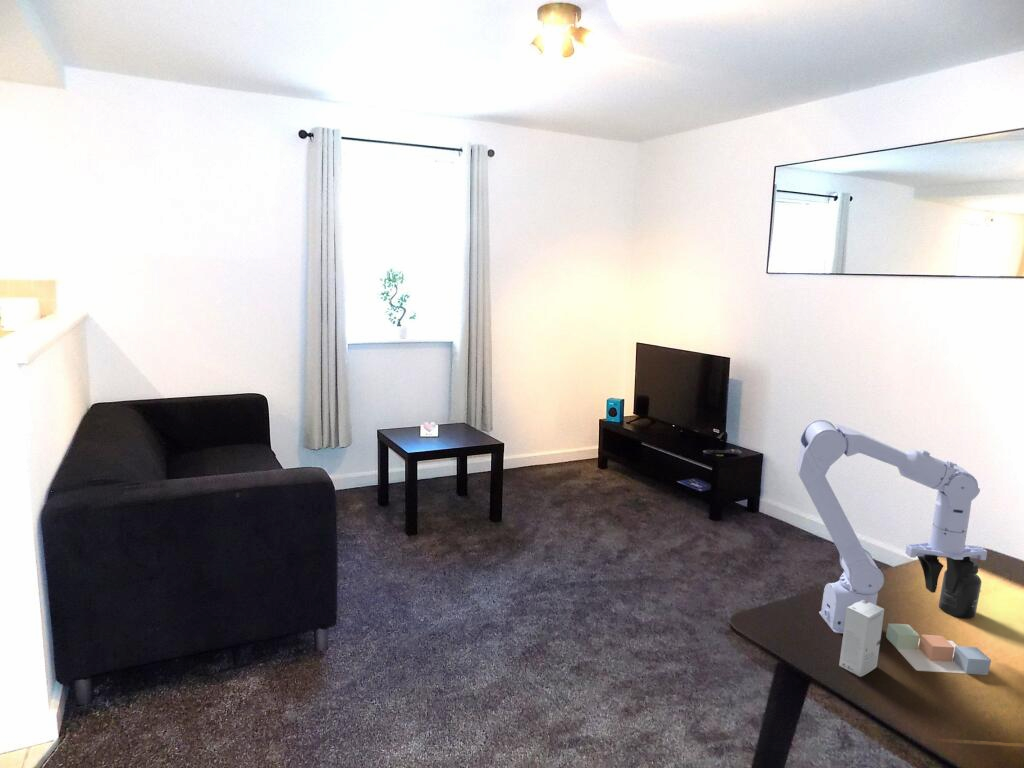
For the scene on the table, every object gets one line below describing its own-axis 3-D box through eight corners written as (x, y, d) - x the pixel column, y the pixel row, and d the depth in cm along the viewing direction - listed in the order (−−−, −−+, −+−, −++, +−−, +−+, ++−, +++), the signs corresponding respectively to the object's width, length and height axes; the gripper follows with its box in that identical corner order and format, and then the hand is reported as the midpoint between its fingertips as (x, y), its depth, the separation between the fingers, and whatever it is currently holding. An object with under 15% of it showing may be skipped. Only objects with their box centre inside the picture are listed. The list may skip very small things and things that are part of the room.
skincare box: (860, 679, 119) (870, 618, 117) (837, 666, 123) (845, 607, 121) (877, 668, 123) (887, 609, 121) (854, 656, 126) (862, 598, 124)
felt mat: (916, 672, 122) (916, 670, 122) (885, 638, 133) (886, 636, 133) (987, 676, 122) (988, 674, 121) (951, 642, 132) (951, 640, 132)
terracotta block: (930, 660, 125) (932, 646, 125) (918, 648, 129) (920, 634, 129) (951, 661, 125) (954, 647, 124) (939, 649, 129) (941, 635, 128)
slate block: (966, 673, 122) (968, 658, 121) (952, 660, 126) (955, 646, 125) (988, 674, 121) (991, 659, 121) (974, 661, 125) (976, 647, 125)
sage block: (896, 648, 129) (898, 634, 128) (886, 636, 133) (888, 623, 132) (917, 649, 129) (919, 635, 128) (906, 637, 133) (908, 624, 132)
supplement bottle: (981, 622, 140) (991, 570, 138) (945, 618, 142) (955, 566, 139) (966, 606, 147) (975, 556, 145) (932, 602, 148) (941, 552, 146)
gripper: (923, 533, 126) (914, 599, 128) (1001, 536, 125) (990, 602, 128) (903, 519, 133) (895, 581, 135) (977, 521, 132) (967, 584, 135)
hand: (940, 590), depth 132 cm, fingers open, 3 cm apart
